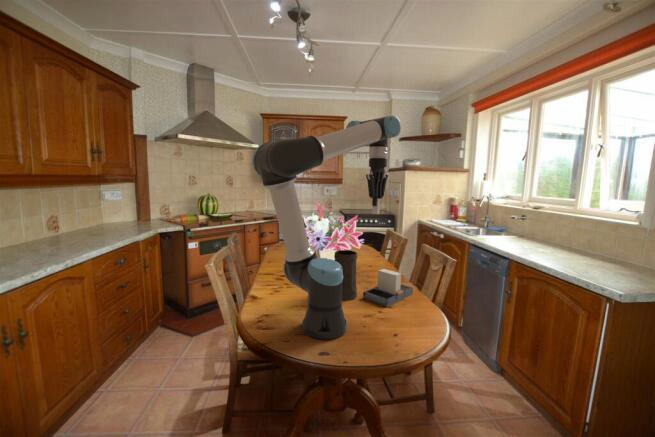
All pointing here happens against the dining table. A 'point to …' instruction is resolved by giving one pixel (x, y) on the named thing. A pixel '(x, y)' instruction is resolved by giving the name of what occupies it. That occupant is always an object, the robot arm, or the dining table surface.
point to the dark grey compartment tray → (387, 295)
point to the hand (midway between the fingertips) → (375, 213)
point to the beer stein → (348, 272)
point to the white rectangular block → (389, 281)
